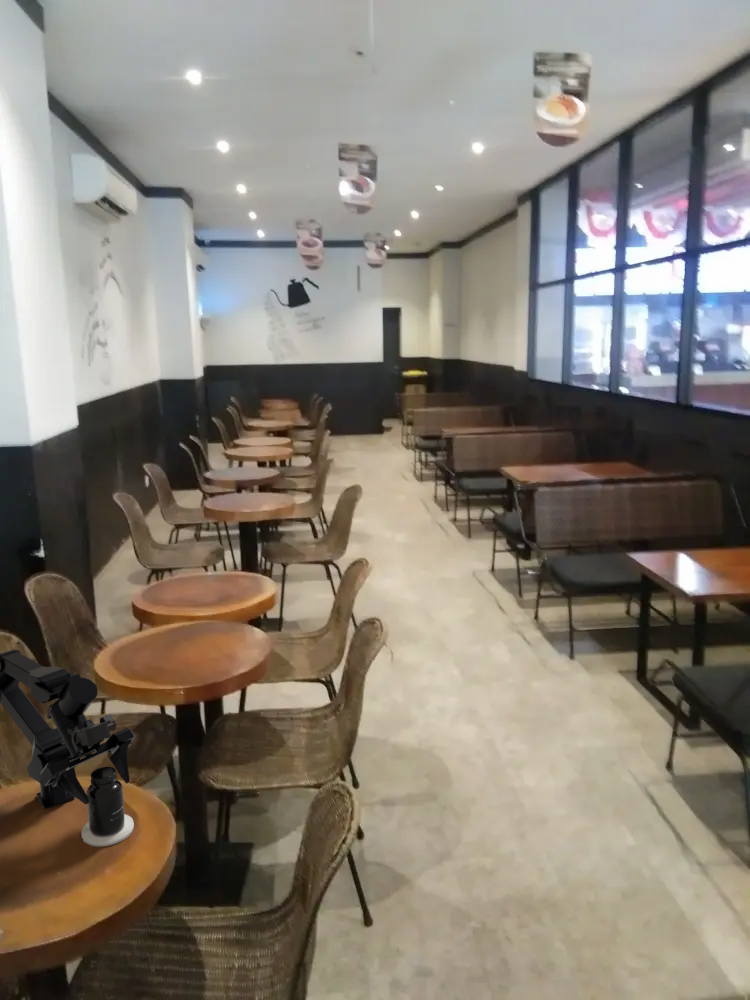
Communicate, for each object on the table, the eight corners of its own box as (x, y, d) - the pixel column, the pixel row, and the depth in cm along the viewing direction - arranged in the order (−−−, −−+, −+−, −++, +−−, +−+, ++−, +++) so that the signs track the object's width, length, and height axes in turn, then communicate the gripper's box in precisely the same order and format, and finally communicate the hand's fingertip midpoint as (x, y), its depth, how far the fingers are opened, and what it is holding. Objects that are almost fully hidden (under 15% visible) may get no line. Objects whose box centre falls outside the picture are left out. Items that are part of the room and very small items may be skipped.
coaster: (75, 828, 158) (74, 824, 158) (123, 810, 164) (123, 806, 164) (91, 853, 151) (90, 849, 150) (141, 833, 156) (141, 829, 156)
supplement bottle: (123, 834, 155) (119, 779, 152) (87, 839, 153) (82, 784, 151) (126, 814, 161) (122, 761, 159) (91, 819, 160) (87, 765, 157)
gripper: (42, 725, 148) (79, 797, 143) (126, 691, 162) (163, 756, 158) (24, 750, 154) (60, 821, 149) (107, 715, 168) (142, 778, 164)
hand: (108, 792), depth 155 cm, fingers open, 9 cm apart
